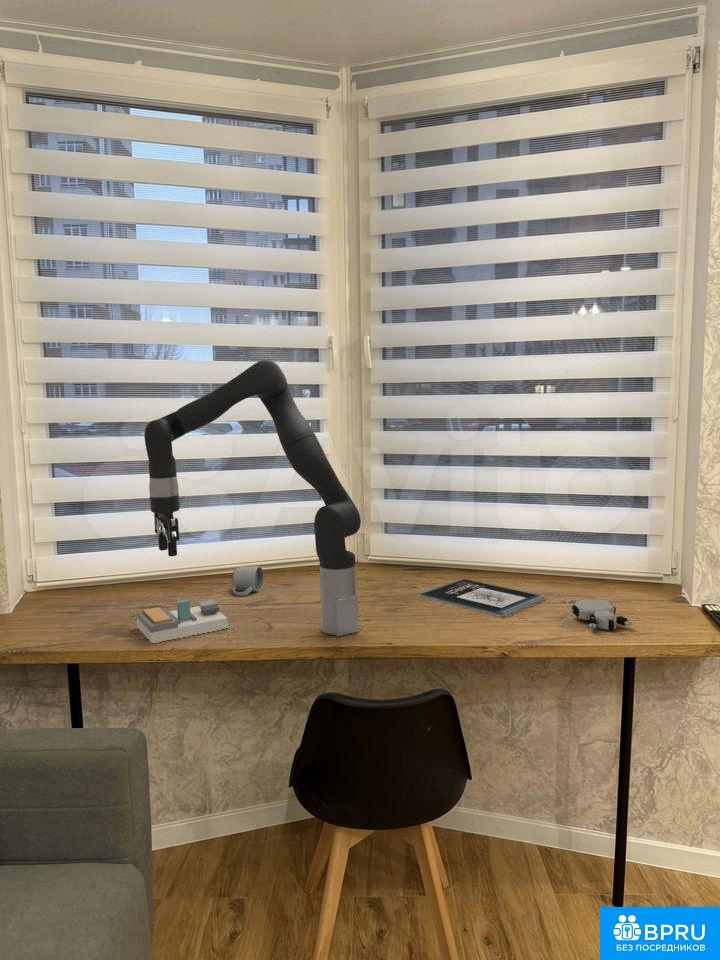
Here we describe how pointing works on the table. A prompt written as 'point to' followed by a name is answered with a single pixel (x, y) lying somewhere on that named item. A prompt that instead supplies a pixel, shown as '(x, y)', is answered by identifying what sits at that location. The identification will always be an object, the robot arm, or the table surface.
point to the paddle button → (156, 615)
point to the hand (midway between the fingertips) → (167, 552)
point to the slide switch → (183, 610)
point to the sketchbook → (484, 597)
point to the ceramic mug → (247, 580)
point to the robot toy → (598, 613)
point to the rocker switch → (208, 607)
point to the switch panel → (181, 625)
